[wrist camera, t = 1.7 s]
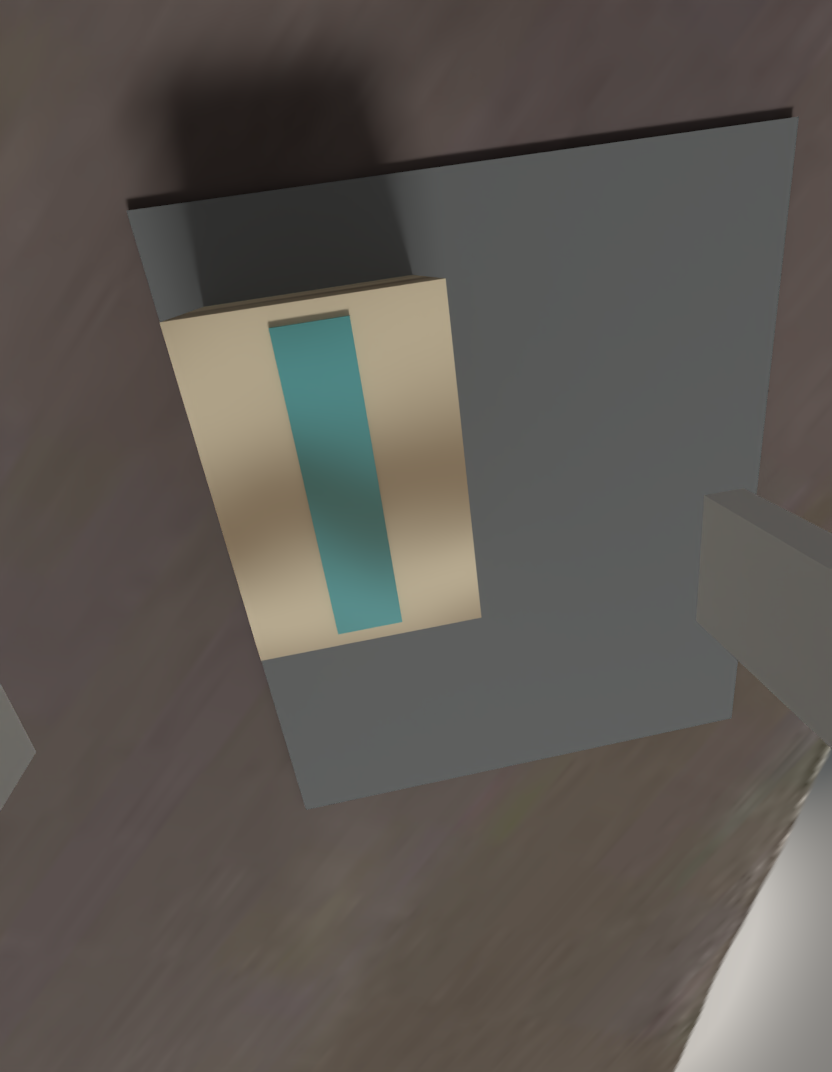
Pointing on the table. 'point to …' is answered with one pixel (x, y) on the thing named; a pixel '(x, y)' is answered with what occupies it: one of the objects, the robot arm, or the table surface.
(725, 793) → the table surface
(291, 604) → the maple block
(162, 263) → the rubber mat
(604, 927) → the table surface
